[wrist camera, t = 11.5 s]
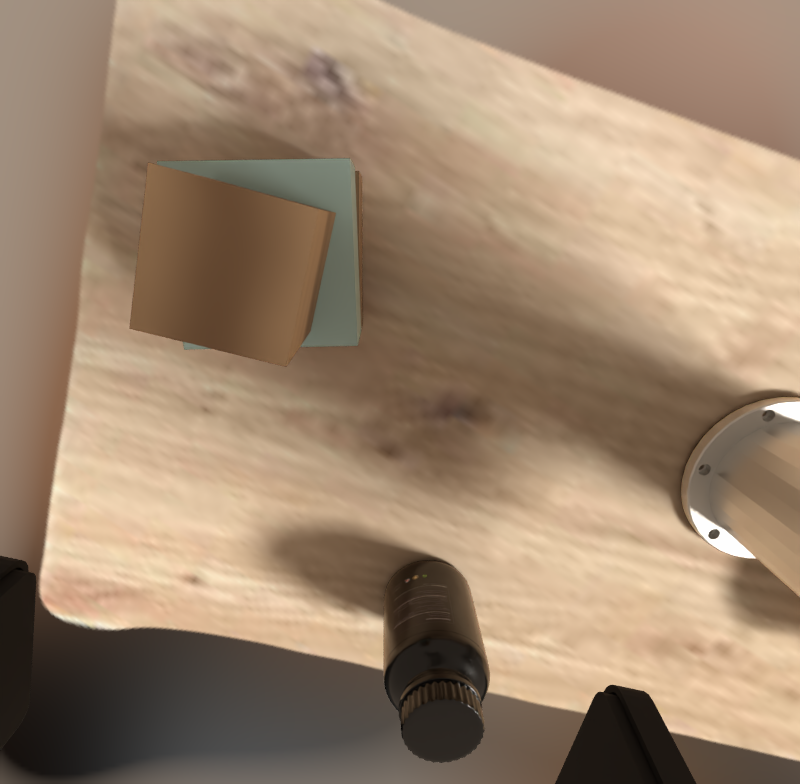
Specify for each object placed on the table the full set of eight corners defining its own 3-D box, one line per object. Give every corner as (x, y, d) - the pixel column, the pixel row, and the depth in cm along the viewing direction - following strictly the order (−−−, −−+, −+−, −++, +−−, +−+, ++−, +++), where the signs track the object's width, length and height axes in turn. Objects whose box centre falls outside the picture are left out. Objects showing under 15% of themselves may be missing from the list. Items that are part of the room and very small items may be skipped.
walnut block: (336, 212, 25) (318, 209, 19) (310, 331, 27) (286, 366, 21) (211, 178, 25) (148, 162, 18) (193, 302, 27) (129, 328, 20)
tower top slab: (354, 166, 29) (349, 158, 25) (361, 330, 31) (357, 345, 28) (187, 169, 28) (156, 161, 25) (208, 333, 31) (184, 349, 27)
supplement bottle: (481, 614, 42) (516, 760, 31) (400, 638, 43) (405, 790, 31) (455, 544, 40) (483, 672, 29) (371, 570, 41) (365, 706, 29)
